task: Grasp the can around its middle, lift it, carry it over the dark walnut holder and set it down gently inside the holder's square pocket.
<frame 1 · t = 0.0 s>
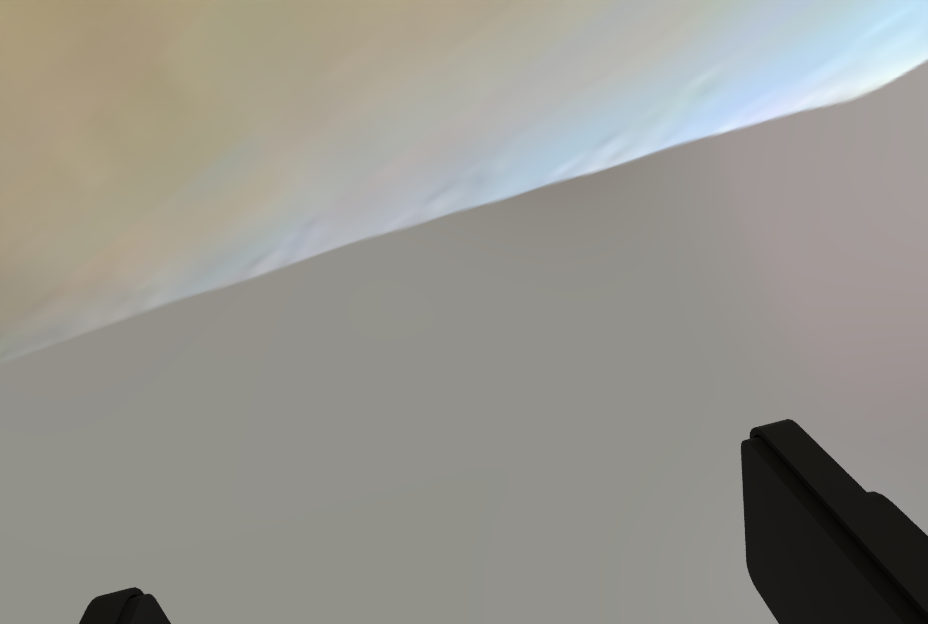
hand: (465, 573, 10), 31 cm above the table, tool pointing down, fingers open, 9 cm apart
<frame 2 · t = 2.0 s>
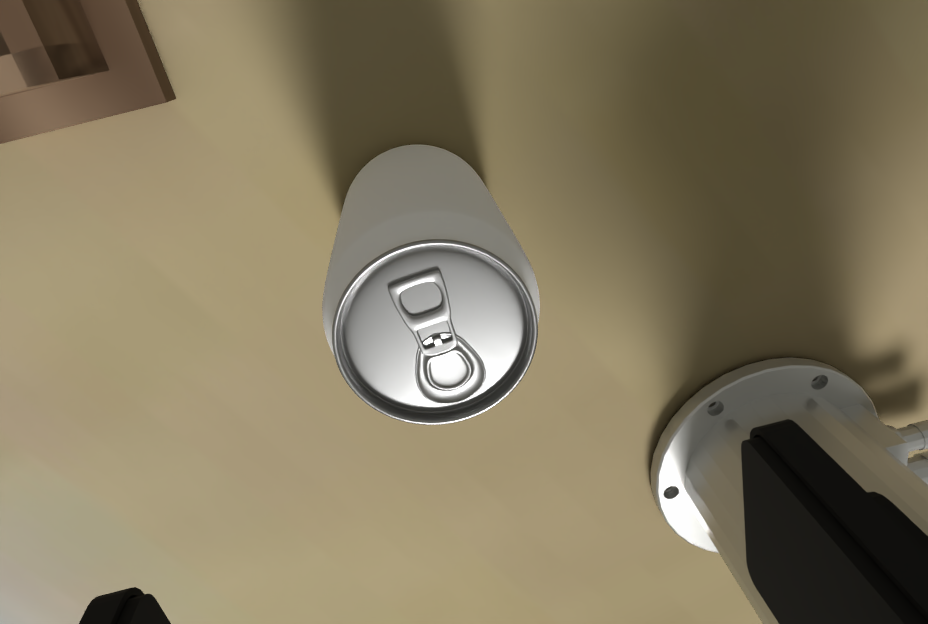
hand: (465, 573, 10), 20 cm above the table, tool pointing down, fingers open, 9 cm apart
can: (417, 215, 28), on the table
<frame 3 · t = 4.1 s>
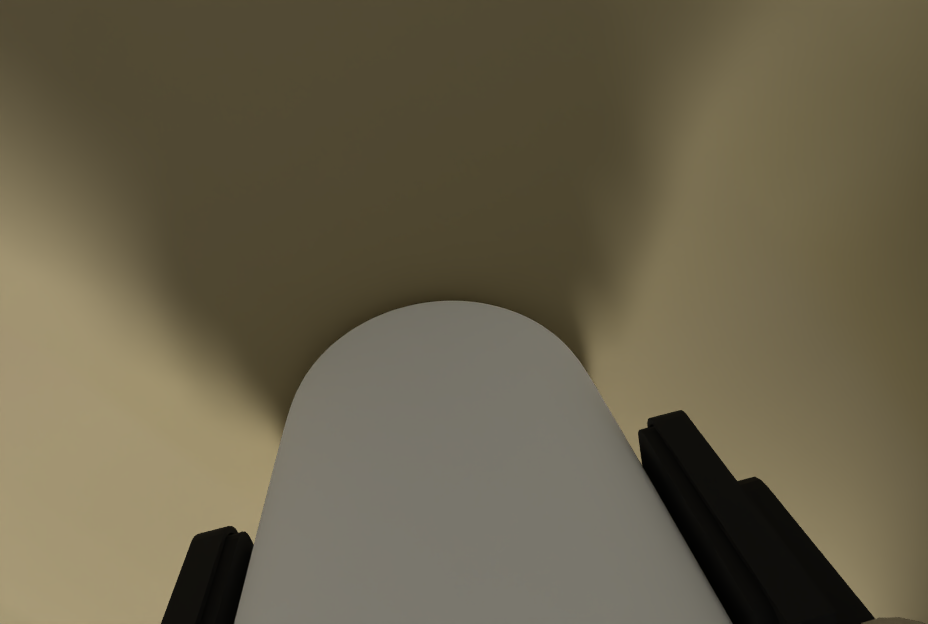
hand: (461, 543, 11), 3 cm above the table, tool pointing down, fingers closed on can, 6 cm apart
can: (443, 426, 14), on the table, touching gripper
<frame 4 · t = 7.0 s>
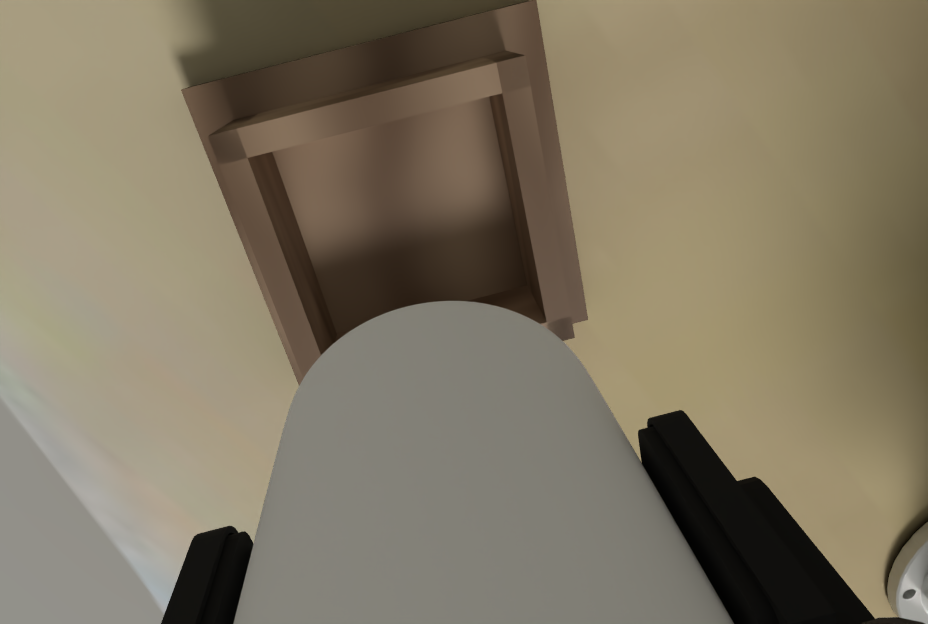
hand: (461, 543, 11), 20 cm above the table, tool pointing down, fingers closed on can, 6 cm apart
holder: (405, 209, 29), on the table
can: (444, 427, 14), point 17 cm above the table, touching gripper
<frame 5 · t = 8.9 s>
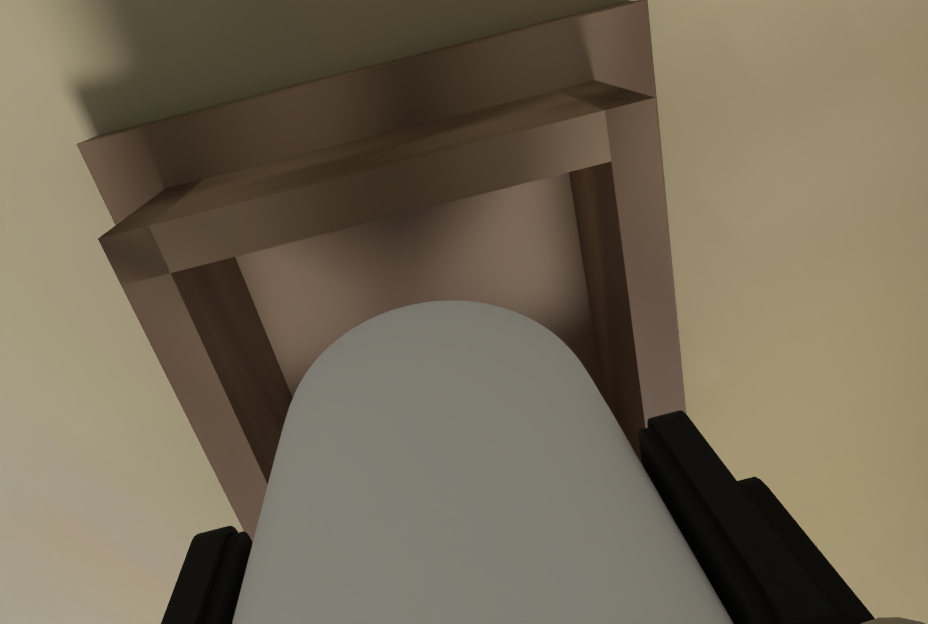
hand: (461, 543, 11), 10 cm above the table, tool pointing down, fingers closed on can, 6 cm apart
holder: (431, 310, 19), on the table
can: (443, 427, 14), point 6 cm above the table, touching gripper
when the fingers open (5 cm above the table, at t = 10.2 s): can drops 1 cm, resting on holder.
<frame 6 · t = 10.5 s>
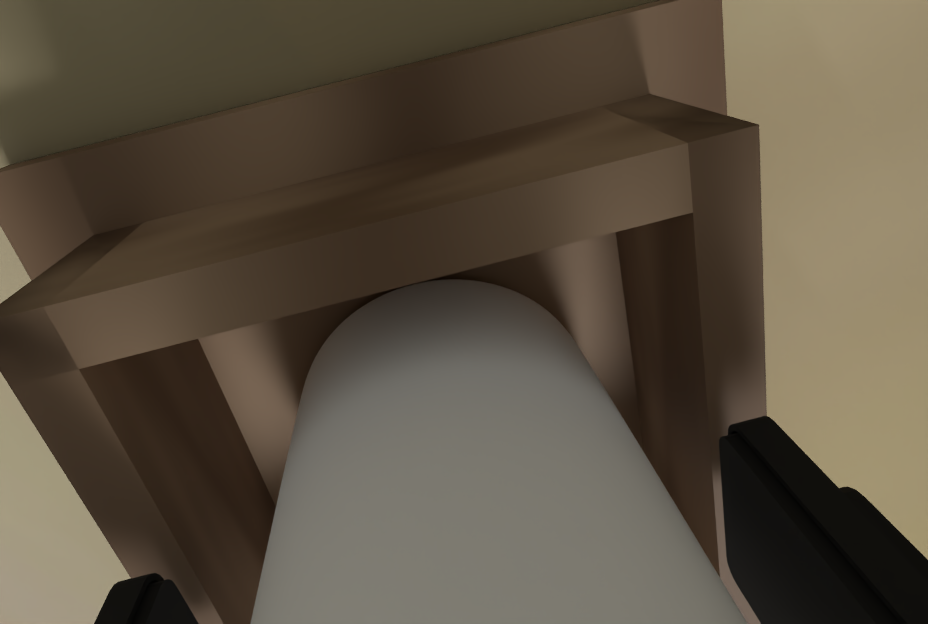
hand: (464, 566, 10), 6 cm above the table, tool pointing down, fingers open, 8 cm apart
holder: (436, 373, 16), on the table
can: (446, 398, 15), point 1 cm above the table, touching holder
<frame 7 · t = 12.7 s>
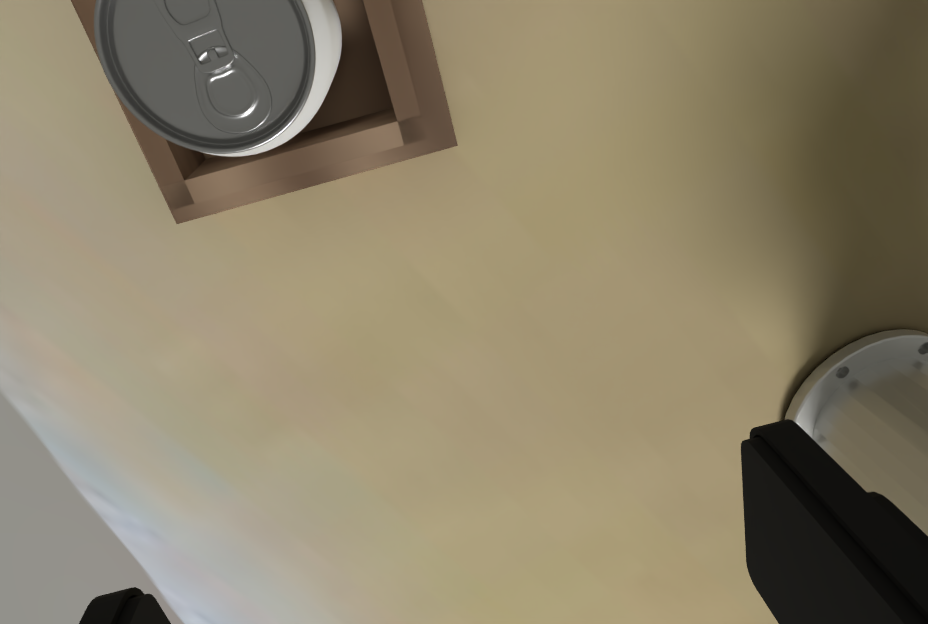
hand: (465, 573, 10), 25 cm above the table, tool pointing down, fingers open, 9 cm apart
holder: (266, 29, 29), on the table
can: (267, 33, 28), point 1 cm above the table, touching holder
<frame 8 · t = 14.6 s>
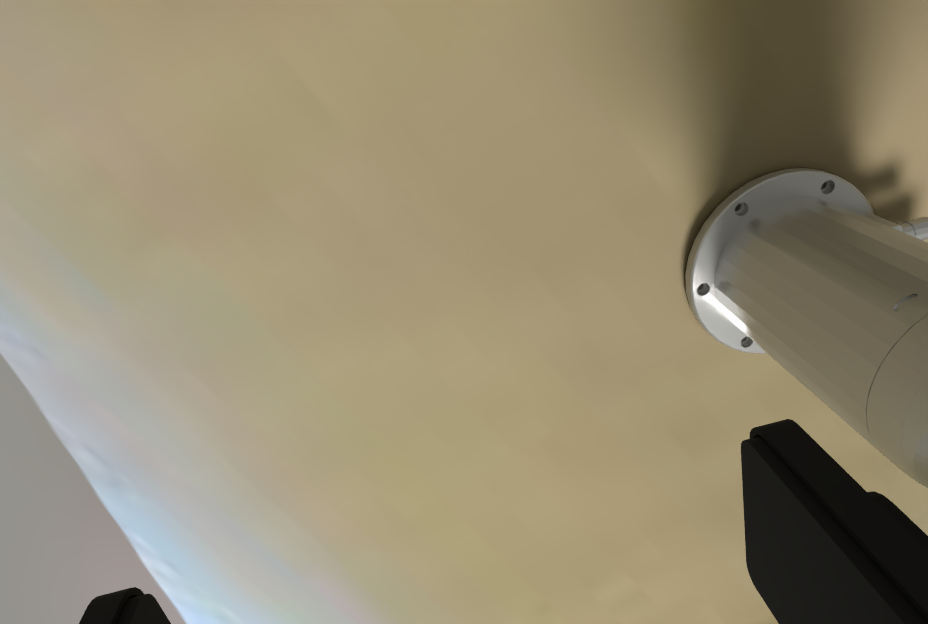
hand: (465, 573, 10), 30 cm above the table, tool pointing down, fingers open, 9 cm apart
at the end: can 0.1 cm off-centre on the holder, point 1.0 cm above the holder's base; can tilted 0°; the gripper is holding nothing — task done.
